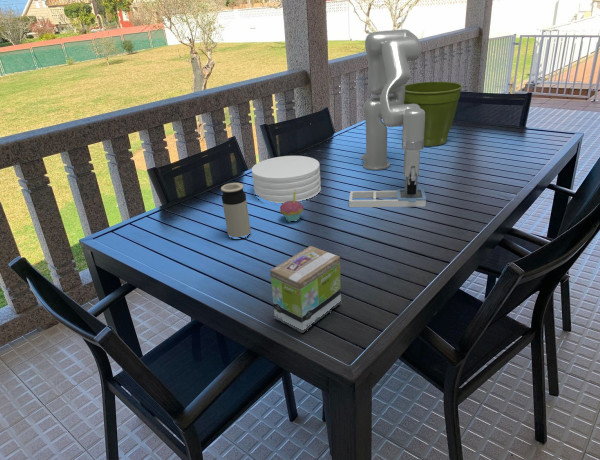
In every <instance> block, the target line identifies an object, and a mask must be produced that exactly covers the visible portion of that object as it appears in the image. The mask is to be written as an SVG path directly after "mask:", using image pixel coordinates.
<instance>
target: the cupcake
mask: <svg viewBox="0 0 600 460" xmlns="http://www.w3.org/2000/svg"><path fill="white" fill-rule="evenodd" d="M295 194H296V192H295V191H294V197H293V201H287V202H285V203H283V204H282V205H280V206H279V213H281V214H282V215H283V216H284V218H285V220H286V221H287V220H288V221H295V220H298V219H299V220H300V219H301V218H300V217H301V213H303V211H304V207H305V206H304V204H302V202H301V203H300V202H298V201H295ZM299 220H298V221H299ZM288 221H287V222H288Z"/></svg>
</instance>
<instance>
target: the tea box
mask: <svg viewBox="0 0 600 460" xmlns="http://www.w3.org/2000/svg"><path fill="white" fill-rule="evenodd" d="M269 271H270V273H269V274H270V284H271V294H272V305H273V314H274V315H273V317H274V316H276V317H278V318H280V319H282V320H283V321H285V322H287V323H289V324H291V325H293V326H295V327H297V328H299V329H301V330H304V329H306V328H307V327H308V326H309V325H311V324H312V323H313V322H315V321H316V320H317V319H318V318H319V317H321V316H322V315H323V314H325V313H326V312H327V311H329V310H330V309H331V308H332V307H333V306H335V305H336V304H337V303H339V302H340V301H341V302H342V293H341V291H342V284H341V279H342V278H341V275H342V274H341V256H339V255H337V254H333V253H331V252H328V251H326V250H323V249H320V248H318V247H314V246H312V245H310V246H308V247H307V248H305V249H303V250H302V251H300V252H298V253H296V254H294V255H293V256H291V257H290V258H288V259H287V260H284V261H283V262H281V263H280V264H278V265H276V266H275V267H273V268H271V269H270V270H269Z"/></svg>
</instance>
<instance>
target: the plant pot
mask: <svg viewBox="0 0 600 460" xmlns="http://www.w3.org/2000/svg"><path fill="white" fill-rule="evenodd" d="M462 89H463V85H462V84H461V83H459V82H451V81H422V82H421V81H420V82H414V83H408V84H406V86H405V98H404V104H417V105H419V106H420V108H421V109H423V110H424V111H425V128H424V147H436V146H437V145H438V146H442V145H443V144H446V143H447V142H448V136H449V133H450V130H451V128H452V125H453V122H454V118H455V116H456V112H457V108H458V104H459V100H460V96H461V91H462ZM438 146H437V147H438Z"/></svg>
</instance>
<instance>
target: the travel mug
mask: <svg viewBox="0 0 600 460" xmlns="http://www.w3.org/2000/svg"><path fill="white" fill-rule="evenodd" d="M244 186H245V185H244V184H243V183H240V182H229V183H226V184H224V185H222V186H221V187H220V190H221V192H222V195H221V201H222V208H223V213H224V219H225V226H226V231H227V236H228V235H230V236H232V237H241V236H245V235H248V234H249V233H250V232H251V233H252V230H251V223H250V217H249V209H248V203H247V195H246V192H244V188H245V187H244Z"/></svg>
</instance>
